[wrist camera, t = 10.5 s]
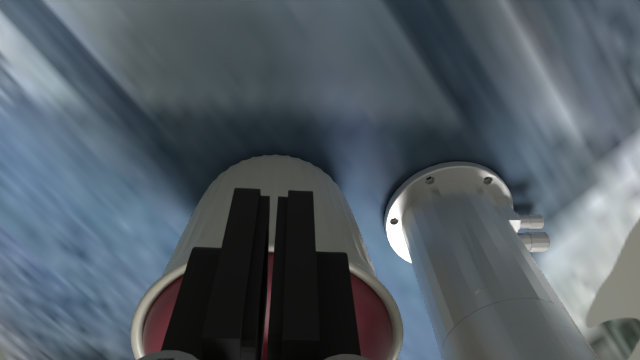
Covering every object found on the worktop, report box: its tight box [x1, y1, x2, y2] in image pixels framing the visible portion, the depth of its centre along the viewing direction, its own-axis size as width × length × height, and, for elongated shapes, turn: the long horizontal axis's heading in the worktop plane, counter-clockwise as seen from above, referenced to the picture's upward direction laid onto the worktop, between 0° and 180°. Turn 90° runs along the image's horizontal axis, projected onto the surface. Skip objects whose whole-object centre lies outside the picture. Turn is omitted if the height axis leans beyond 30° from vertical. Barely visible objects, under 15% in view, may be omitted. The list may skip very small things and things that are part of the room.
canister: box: [131, 154, 403, 360], centre depth 37 cm, size 18×18×21 cm
